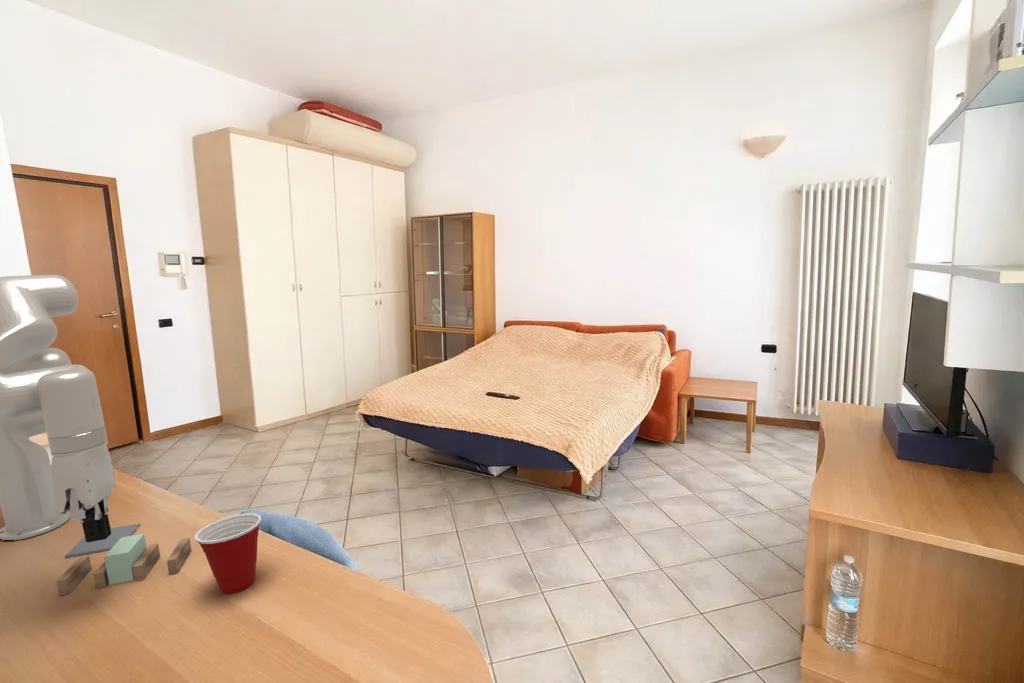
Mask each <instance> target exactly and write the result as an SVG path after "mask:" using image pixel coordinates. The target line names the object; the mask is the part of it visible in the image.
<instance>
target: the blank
mask: <svg viewBox="0 0 1024 683" xmlns="http://www.w3.org/2000/svg"><path fill="white" fill-rule="evenodd" d="M147 548H148V546H147V542H146V536H145V533H140V534H133V535H132V536H127V537H122V538H120V539H119V541H118V542H117V543H116V544H115V545H114V546H113V547H112V548H111V549H110V550H108V551H107V553H106V554H104V556H103V560H104V562H105V565H106V570H107V575H108V580H109V583H108V585H109V586H111V585H116V584H122V583H128V582H131V581H135V578H134V573H133V568H132V567H133V566H134V564H135V563H136V562H137V560H138V559H139V558H140V557H141V555H142V554H143V553H144V552H145V550H146V549H147Z"/></svg>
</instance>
